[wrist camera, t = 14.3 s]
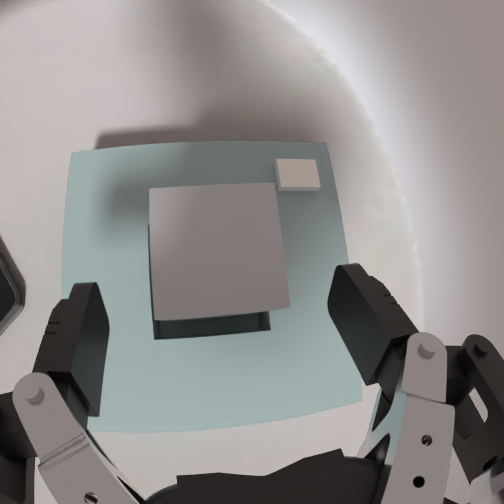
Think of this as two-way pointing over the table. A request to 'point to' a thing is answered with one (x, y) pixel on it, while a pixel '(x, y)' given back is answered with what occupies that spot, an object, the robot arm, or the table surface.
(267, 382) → the socket
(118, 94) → the table surface
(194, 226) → the plug
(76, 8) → the table surface
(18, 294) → the phone
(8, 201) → the table surface
